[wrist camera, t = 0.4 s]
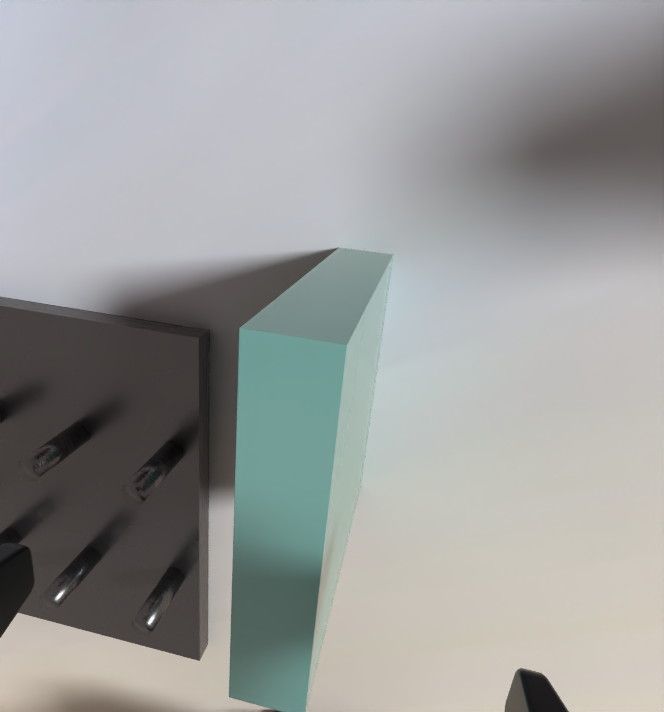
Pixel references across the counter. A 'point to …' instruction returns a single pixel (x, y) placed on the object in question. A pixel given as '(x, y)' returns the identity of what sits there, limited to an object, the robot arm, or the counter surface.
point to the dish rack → (108, 471)
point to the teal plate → (300, 468)
